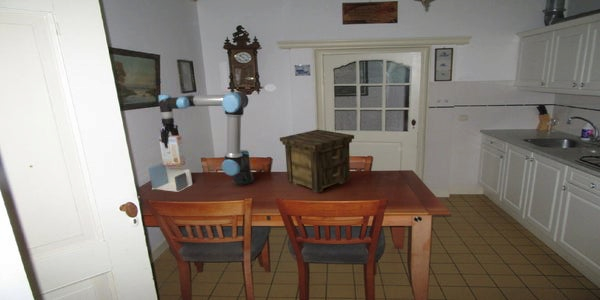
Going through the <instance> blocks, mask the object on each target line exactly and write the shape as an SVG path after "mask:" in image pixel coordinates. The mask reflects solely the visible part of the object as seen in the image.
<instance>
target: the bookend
mask: <svg viewBox="0 0 600 300" xmlns="http://www.w3.org/2000/svg"><path fill="white" fill-rule="evenodd" d="M175 183H176V189H177V191H179V192H180V190H181V191H183V190H185V189H186V187H187V188H189V187H188V184H187V177H186V173H183V174H180V175H178V176H176V177H175ZM184 188H185V189H184ZM182 189H183V190H182Z"/></svg>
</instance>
